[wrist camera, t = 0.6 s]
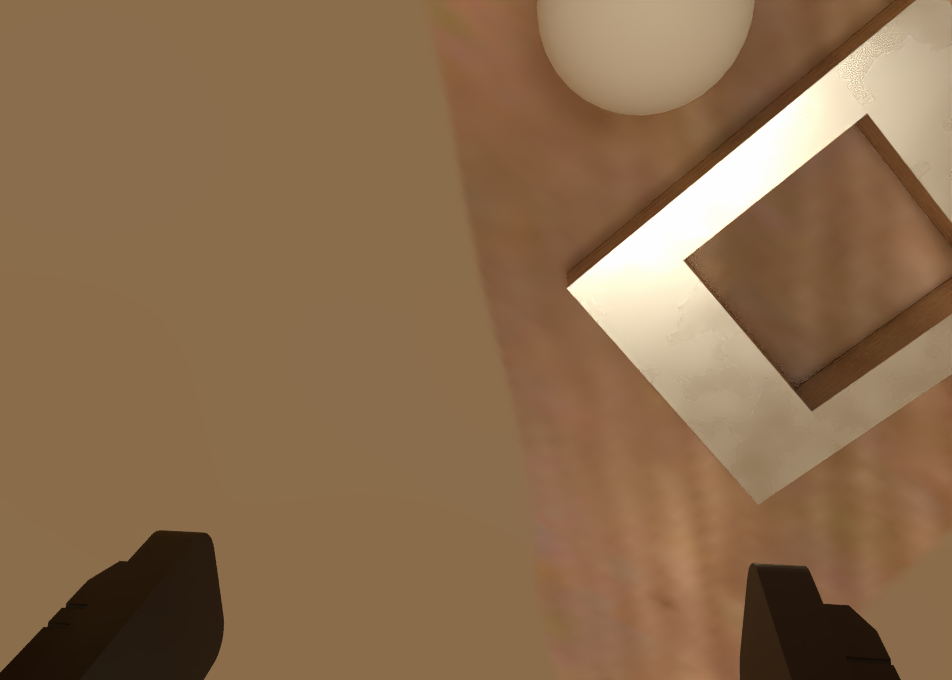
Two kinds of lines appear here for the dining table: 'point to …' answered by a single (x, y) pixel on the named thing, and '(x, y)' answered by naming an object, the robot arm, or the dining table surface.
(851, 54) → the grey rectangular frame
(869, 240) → the dining table surface
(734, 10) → the lightbulb
